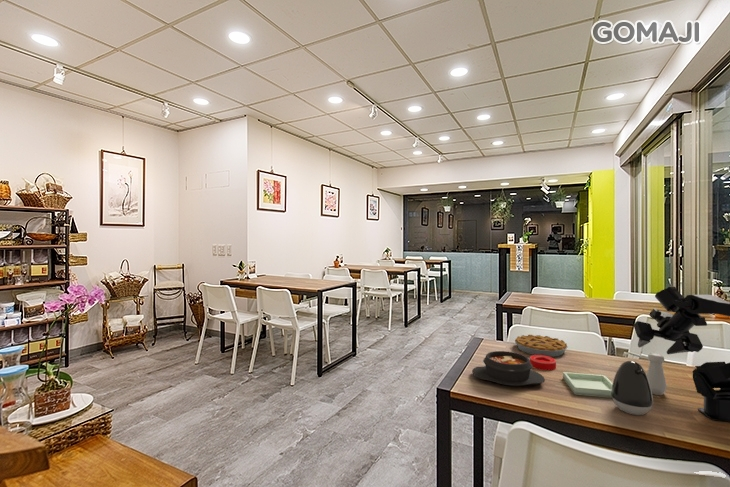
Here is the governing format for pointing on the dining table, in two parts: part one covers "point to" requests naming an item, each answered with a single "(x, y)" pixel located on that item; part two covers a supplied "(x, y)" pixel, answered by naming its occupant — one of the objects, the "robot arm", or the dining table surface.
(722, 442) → the dining table surface
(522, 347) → the pie
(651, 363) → the salt shaker
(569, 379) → the tray
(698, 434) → the dining table surface
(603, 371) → the dining table surface
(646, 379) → the dark grey egg shape
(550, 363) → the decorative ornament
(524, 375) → the casserole
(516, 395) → the dining table surface
